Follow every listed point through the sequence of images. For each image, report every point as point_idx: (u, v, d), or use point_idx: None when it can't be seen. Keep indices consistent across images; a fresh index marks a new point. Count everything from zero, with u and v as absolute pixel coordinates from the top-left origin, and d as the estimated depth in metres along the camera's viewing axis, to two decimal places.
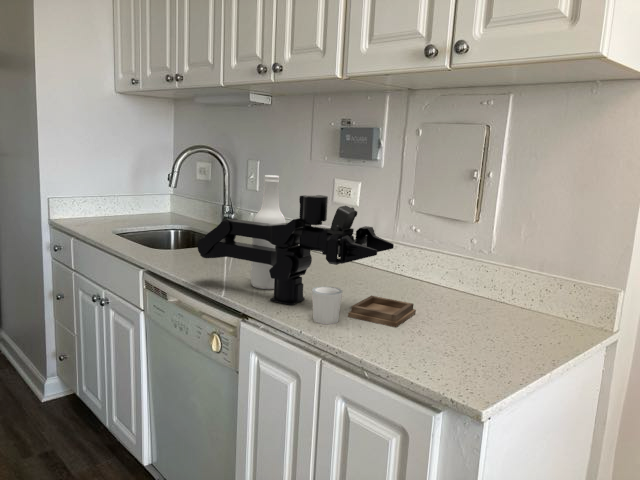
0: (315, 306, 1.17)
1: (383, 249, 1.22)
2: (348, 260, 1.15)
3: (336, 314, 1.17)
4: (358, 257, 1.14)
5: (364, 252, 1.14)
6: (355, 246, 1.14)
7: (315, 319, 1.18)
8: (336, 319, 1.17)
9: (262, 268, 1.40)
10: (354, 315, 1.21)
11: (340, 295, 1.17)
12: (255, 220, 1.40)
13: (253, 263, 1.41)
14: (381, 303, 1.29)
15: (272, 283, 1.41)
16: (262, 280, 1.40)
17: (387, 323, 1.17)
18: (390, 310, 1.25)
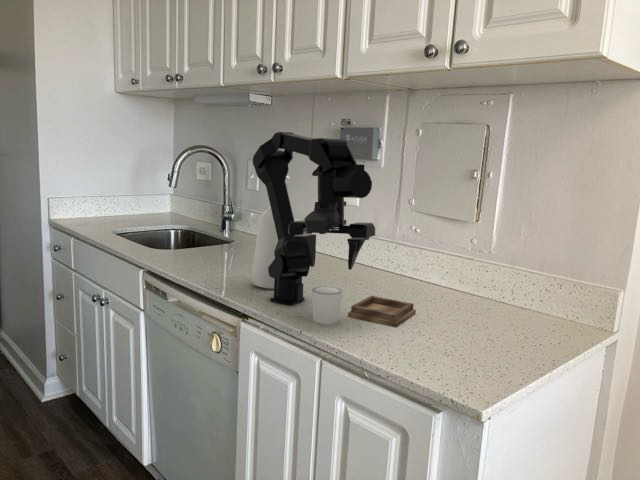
0: (315, 306, 1.17)
1: None
2: None
3: (336, 314, 1.17)
4: None
5: None
6: None
7: (315, 319, 1.18)
8: (336, 319, 1.17)
9: (265, 267, 1.40)
10: (354, 315, 1.21)
11: (340, 295, 1.17)
12: (262, 218, 1.40)
13: (255, 261, 1.41)
14: (381, 303, 1.29)
15: (273, 283, 1.41)
16: (264, 279, 1.40)
17: (387, 323, 1.17)
18: (390, 310, 1.25)
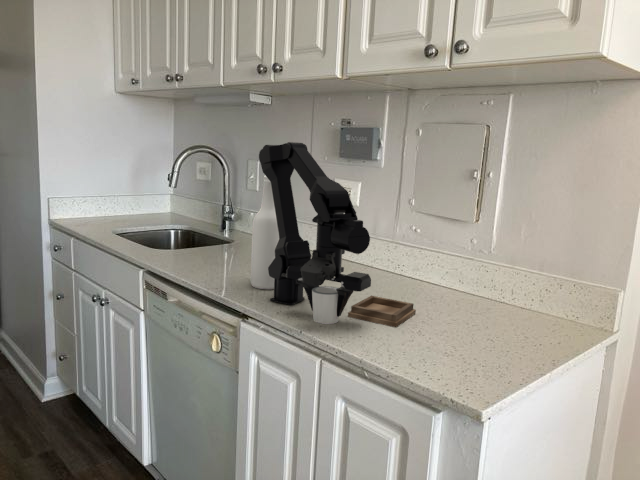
0: (315, 306, 1.17)
1: None
2: None
3: (336, 314, 1.17)
4: None
5: None
6: None
7: (315, 319, 1.18)
8: (336, 319, 1.17)
9: (262, 268, 1.40)
10: (354, 315, 1.21)
11: None
12: (255, 220, 1.40)
13: (253, 263, 1.41)
14: (381, 303, 1.29)
15: (272, 283, 1.41)
16: (262, 281, 1.40)
17: (387, 323, 1.17)
18: (390, 310, 1.25)
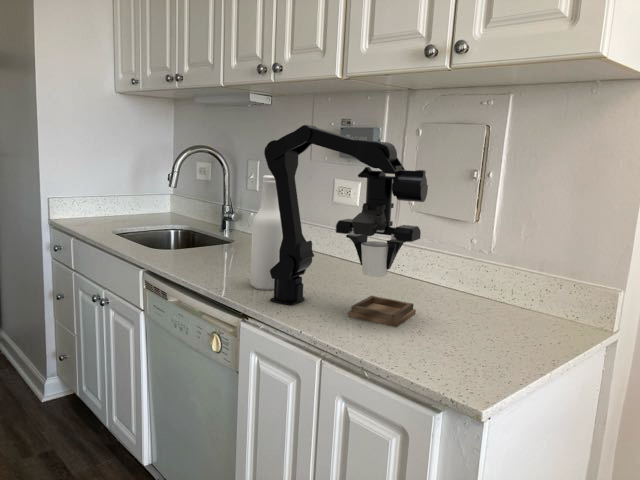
0: (365, 259, 1.19)
1: None
2: None
3: (385, 266, 1.19)
4: None
5: None
6: None
7: (364, 272, 1.19)
8: (385, 272, 1.19)
9: (262, 269, 1.40)
10: (354, 315, 1.21)
11: None
12: (254, 221, 1.39)
13: (252, 264, 1.41)
14: (381, 303, 1.29)
15: (272, 284, 1.41)
16: (262, 281, 1.40)
17: (387, 323, 1.17)
18: (390, 310, 1.25)
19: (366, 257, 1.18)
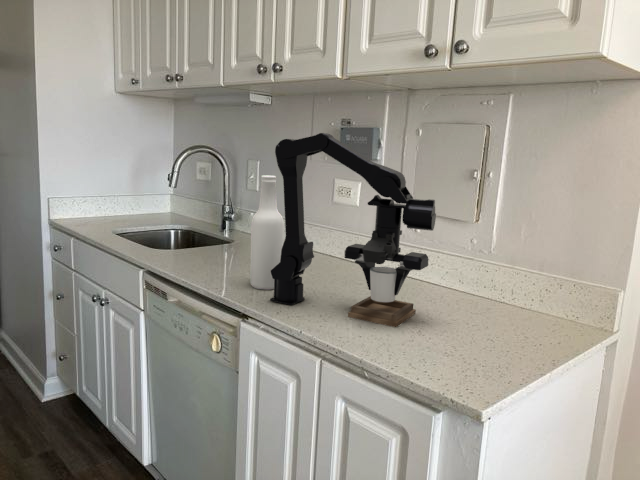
0: (373, 285, 1.21)
1: None
2: None
3: (393, 292, 1.21)
4: None
5: None
6: None
7: (373, 297, 1.22)
8: (393, 298, 1.22)
9: (261, 268, 1.40)
10: (354, 315, 1.21)
11: None
12: (253, 221, 1.40)
13: (252, 264, 1.41)
14: (381, 303, 1.29)
15: (272, 283, 1.41)
16: (262, 281, 1.40)
17: (387, 323, 1.17)
18: (390, 310, 1.25)
19: (375, 283, 1.21)
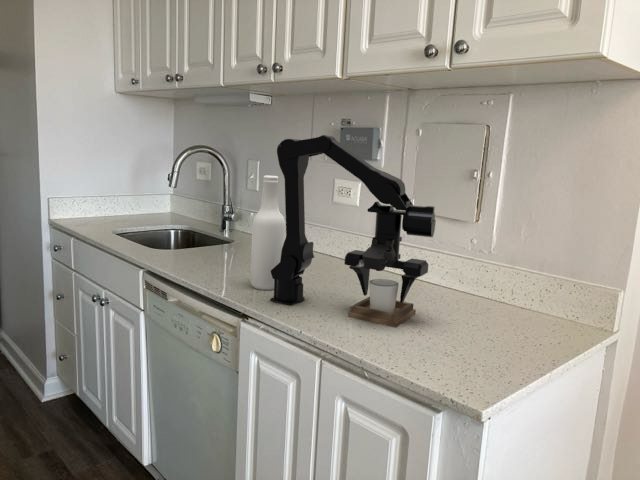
0: (373, 297, 1.22)
1: None
2: None
3: (393, 305, 1.22)
4: None
5: None
6: None
7: None
8: (392, 310, 1.22)
9: (262, 269, 1.40)
10: (354, 315, 1.21)
11: (397, 287, 1.21)
12: (254, 221, 1.40)
13: (252, 264, 1.41)
14: None
15: (272, 284, 1.41)
16: (262, 281, 1.40)
17: (387, 323, 1.17)
18: None
19: (374, 296, 1.21)
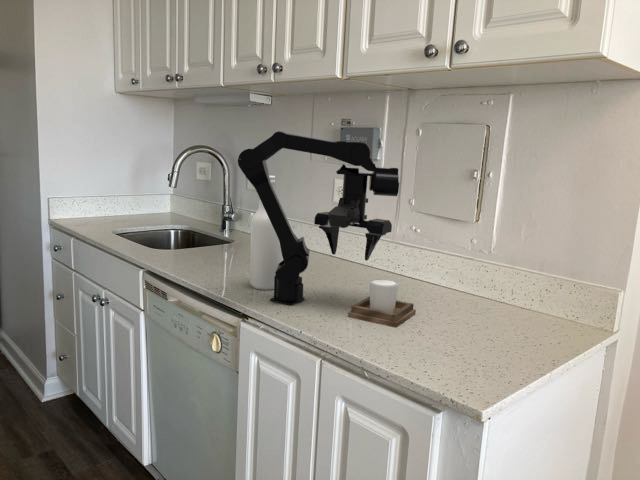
0: (373, 297, 1.22)
1: None
2: None
3: (393, 305, 1.22)
4: None
5: None
6: None
7: None
8: (392, 310, 1.22)
9: (261, 268, 1.40)
10: (354, 315, 1.21)
11: (397, 287, 1.21)
12: (252, 221, 1.40)
13: (252, 264, 1.41)
14: None
15: (271, 284, 1.41)
16: (262, 281, 1.40)
17: (387, 323, 1.17)
18: None
19: (374, 296, 1.21)
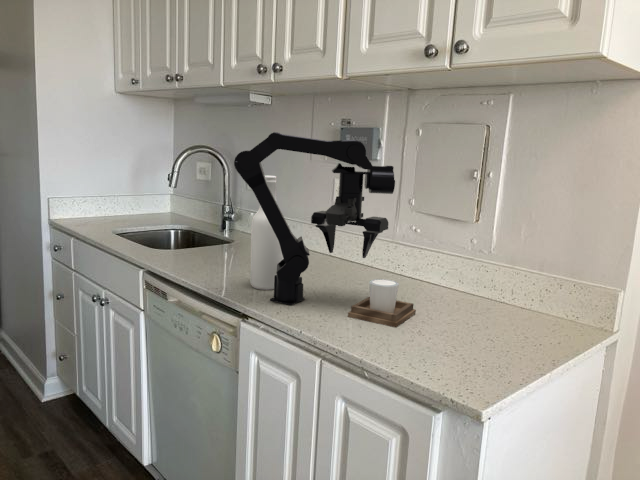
0: (373, 297, 1.22)
1: None
2: None
3: (393, 305, 1.22)
4: None
5: None
6: None
7: None
8: (392, 310, 1.22)
9: (261, 268, 1.40)
10: (354, 315, 1.21)
11: (397, 287, 1.21)
12: (253, 221, 1.40)
13: (252, 264, 1.41)
14: None
15: (271, 284, 1.41)
16: (262, 281, 1.40)
17: (387, 323, 1.17)
18: None
19: (374, 296, 1.21)
